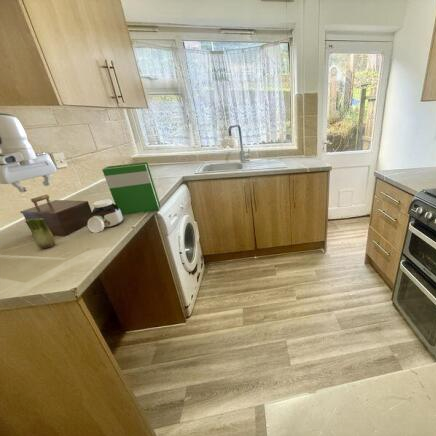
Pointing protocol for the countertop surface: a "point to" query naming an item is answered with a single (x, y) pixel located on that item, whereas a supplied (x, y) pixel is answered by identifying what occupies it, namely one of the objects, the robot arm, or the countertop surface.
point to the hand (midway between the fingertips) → (35, 188)
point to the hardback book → (132, 188)
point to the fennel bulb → (41, 233)
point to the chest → (65, 220)
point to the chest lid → (52, 206)
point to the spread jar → (104, 216)
